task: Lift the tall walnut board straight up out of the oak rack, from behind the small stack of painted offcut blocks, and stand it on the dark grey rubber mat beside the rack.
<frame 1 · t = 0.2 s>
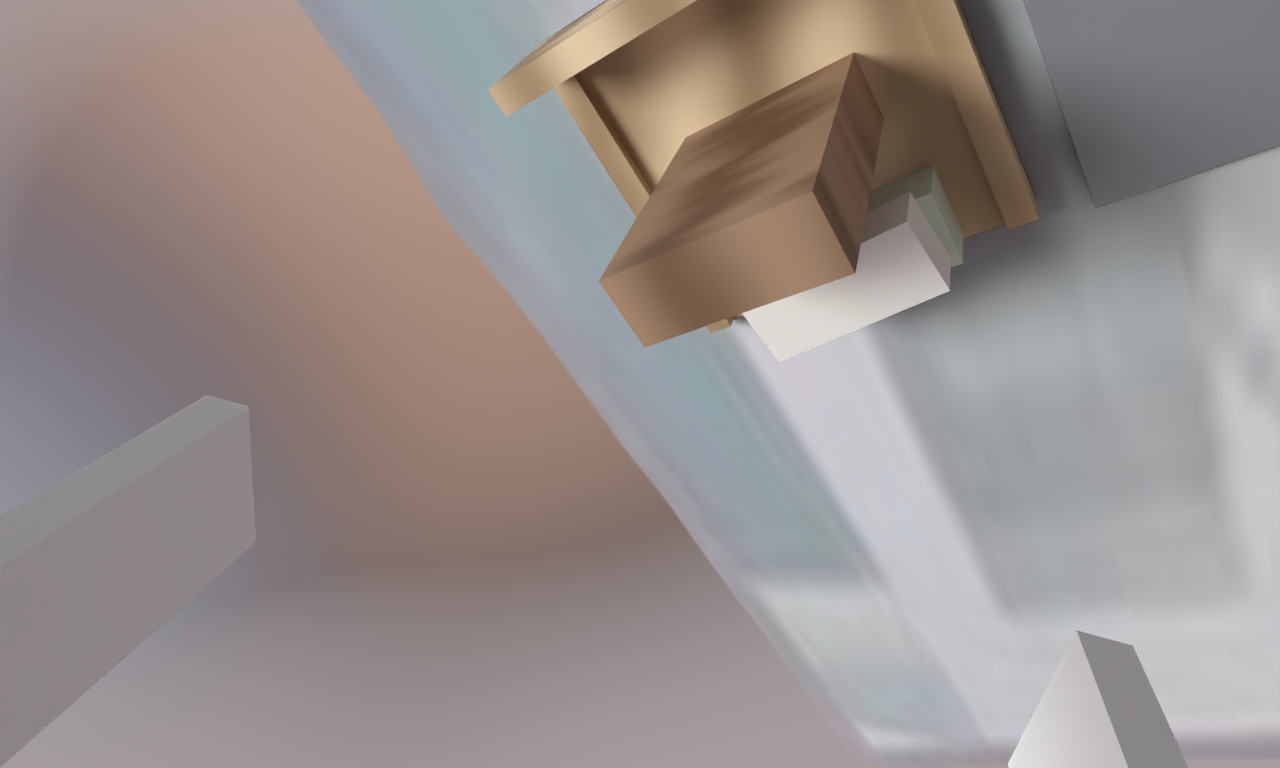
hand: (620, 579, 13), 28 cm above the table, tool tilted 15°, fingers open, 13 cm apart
rubber mat: (1274, 7, 29), on the table
walnut board: (780, 128, 35), point 1 cm above the table, touching rack
offcut upper: (843, 266, 36), point 3 cm above the table, touching offcut lower
rack: (784, 119, 36), on the table
offcut lower: (860, 233, 37), point 1 cm above the table, touching offcut upper, rack
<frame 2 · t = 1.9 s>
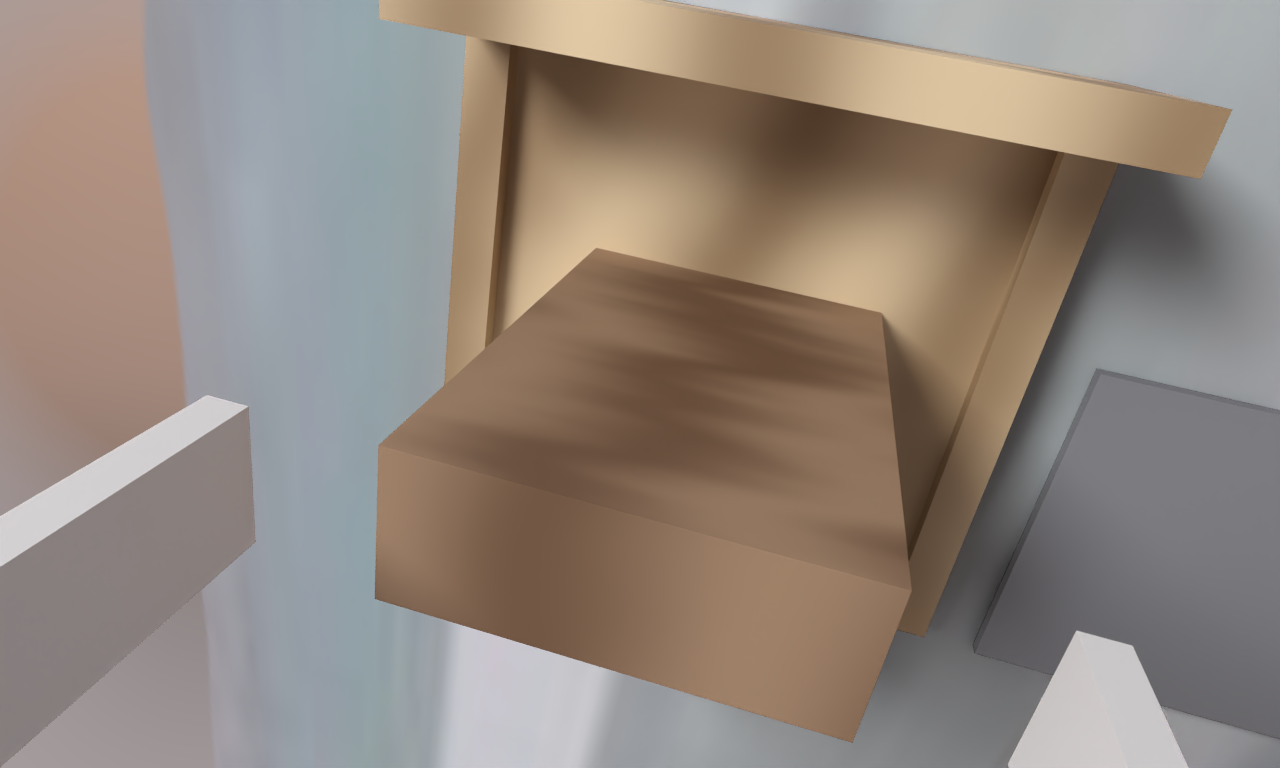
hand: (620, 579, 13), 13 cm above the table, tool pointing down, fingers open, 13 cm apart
walnut board: (724, 329, 23), point 1 cm above the table, touching rack
rack: (728, 318, 24), on the table
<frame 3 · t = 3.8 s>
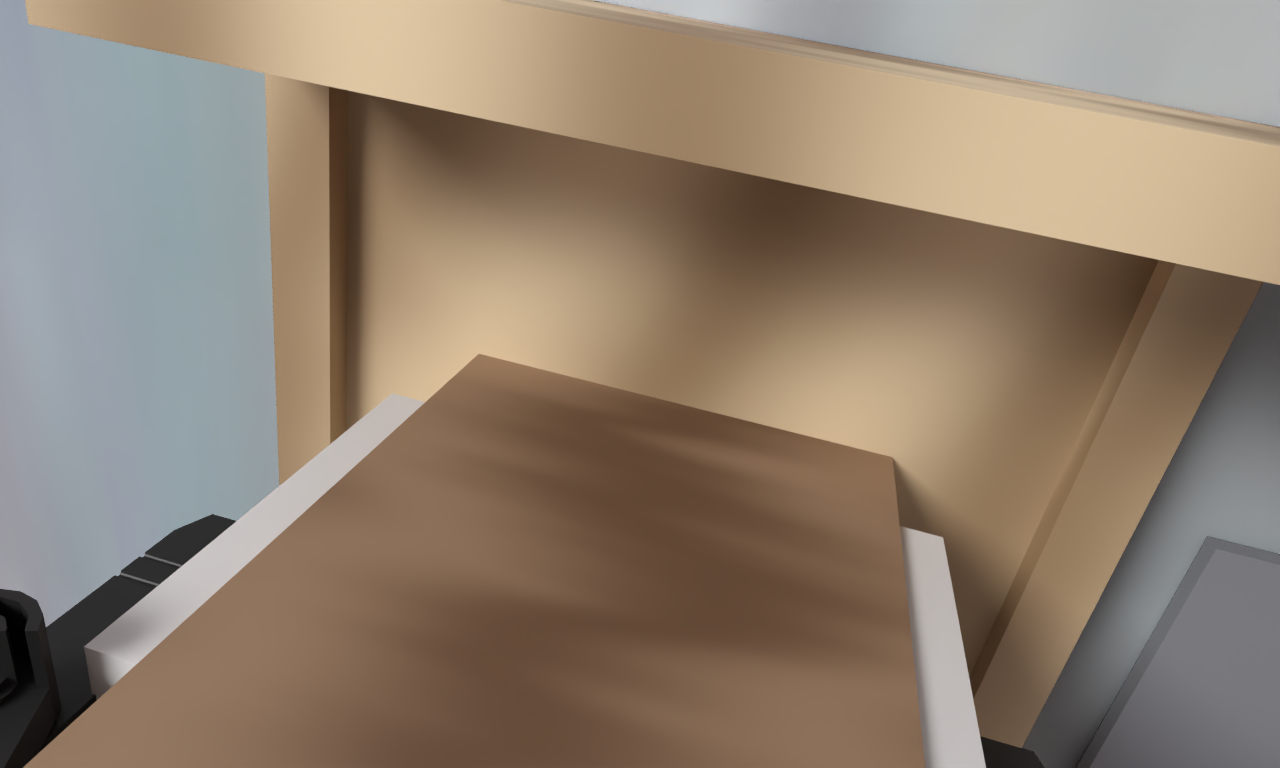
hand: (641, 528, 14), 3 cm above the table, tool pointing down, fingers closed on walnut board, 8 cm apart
walnut board: (664, 470, 16), point 1 cm above the table, touching gripper, rack
rack: (673, 447, 17), on the table
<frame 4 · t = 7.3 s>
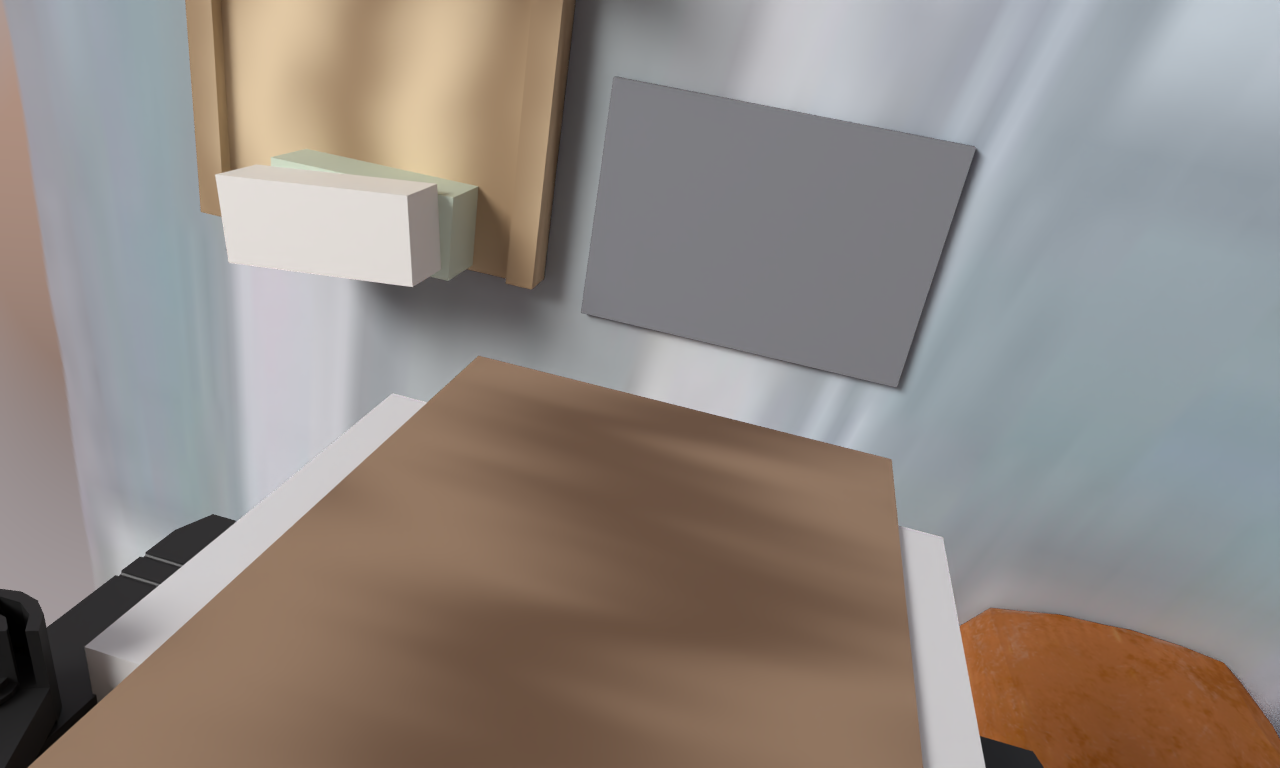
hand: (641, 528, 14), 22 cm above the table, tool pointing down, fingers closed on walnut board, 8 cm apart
rubber mat: (761, 235, 34), on the table
walnut board: (663, 472, 16), point 20 cm above the table, touching gripper
offcut upper: (348, 217, 34), point 3 cm above the table, touching offcut lower
rack: (383, 56, 34), on the table
offcut lower: (390, 207, 36), point 1 cm above the table, touching offcut upper, rack
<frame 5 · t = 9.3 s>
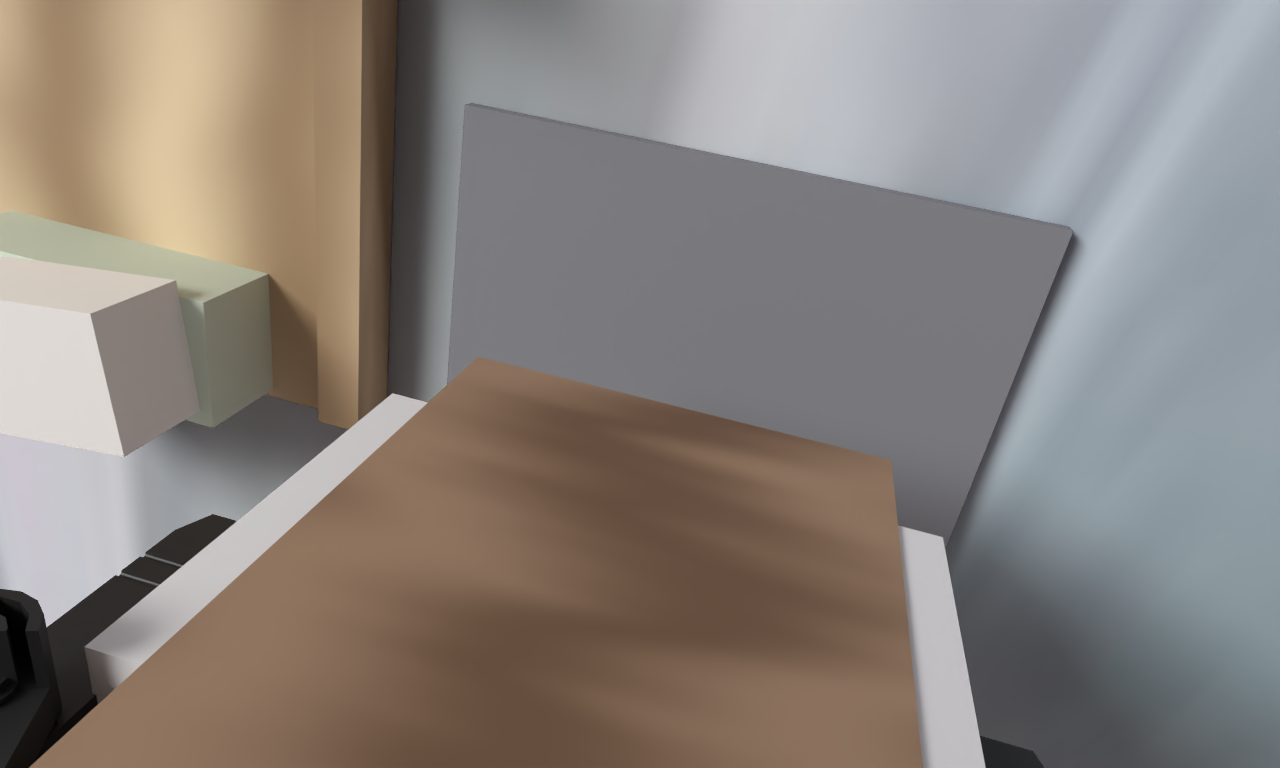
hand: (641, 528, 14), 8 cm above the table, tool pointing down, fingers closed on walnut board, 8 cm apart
rubber mat: (712, 357, 21), on the table
walnut board: (663, 473, 16), point 6 cm above the table, touching gripper
offcut upper: (52, 326, 21), point 3 cm above the table, touching offcut lower
rack: (115, 69, 22), on the table
offcut lower: (144, 300, 23), point 1 cm above the table, touching offcut upper, rack
when the fingers open (3 cm above the table, at t = 10.9 s): walnut board drops 1 cm, resting on rubber mat.
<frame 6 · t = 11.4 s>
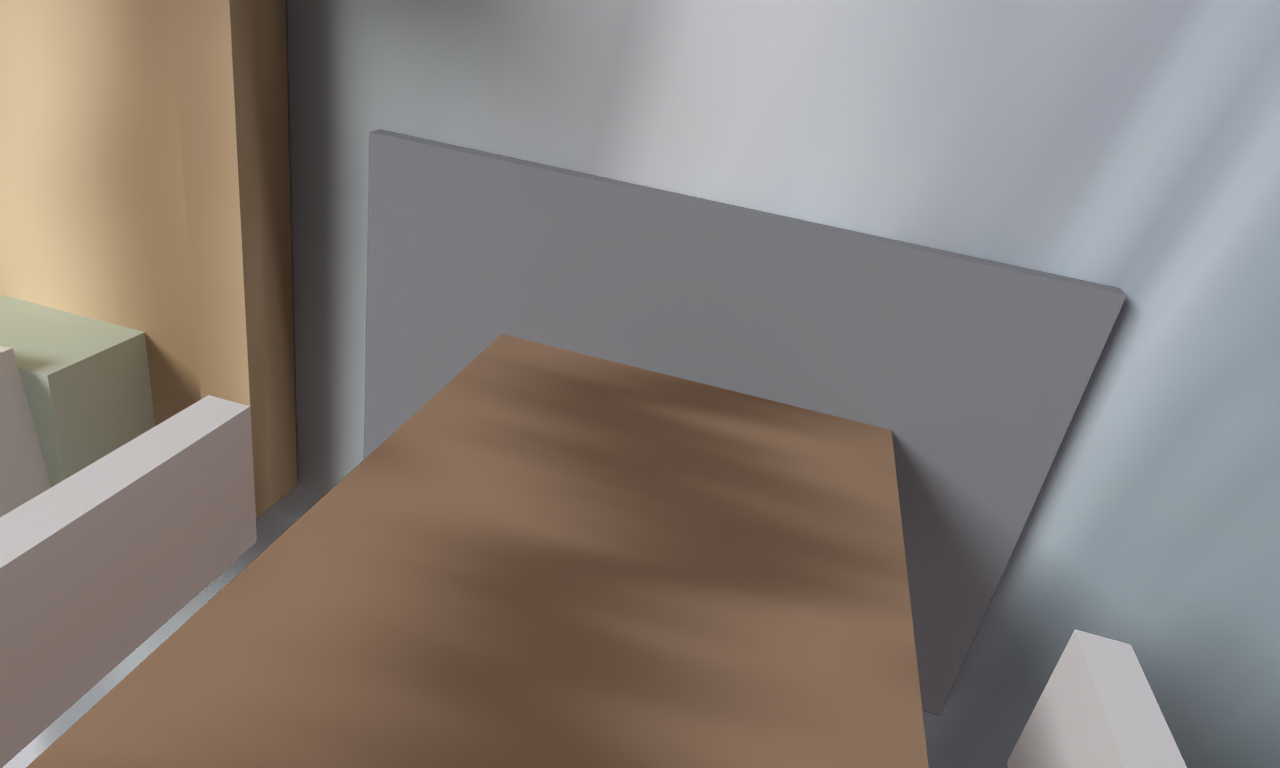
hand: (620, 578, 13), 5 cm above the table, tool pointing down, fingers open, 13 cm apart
rubber mat: (678, 436, 17), on the table
walnut board: (676, 444, 17), resting on rubber mat
offcut lower: (4, 360, 20), point 1 cm above the table, touching offcut upper, rack
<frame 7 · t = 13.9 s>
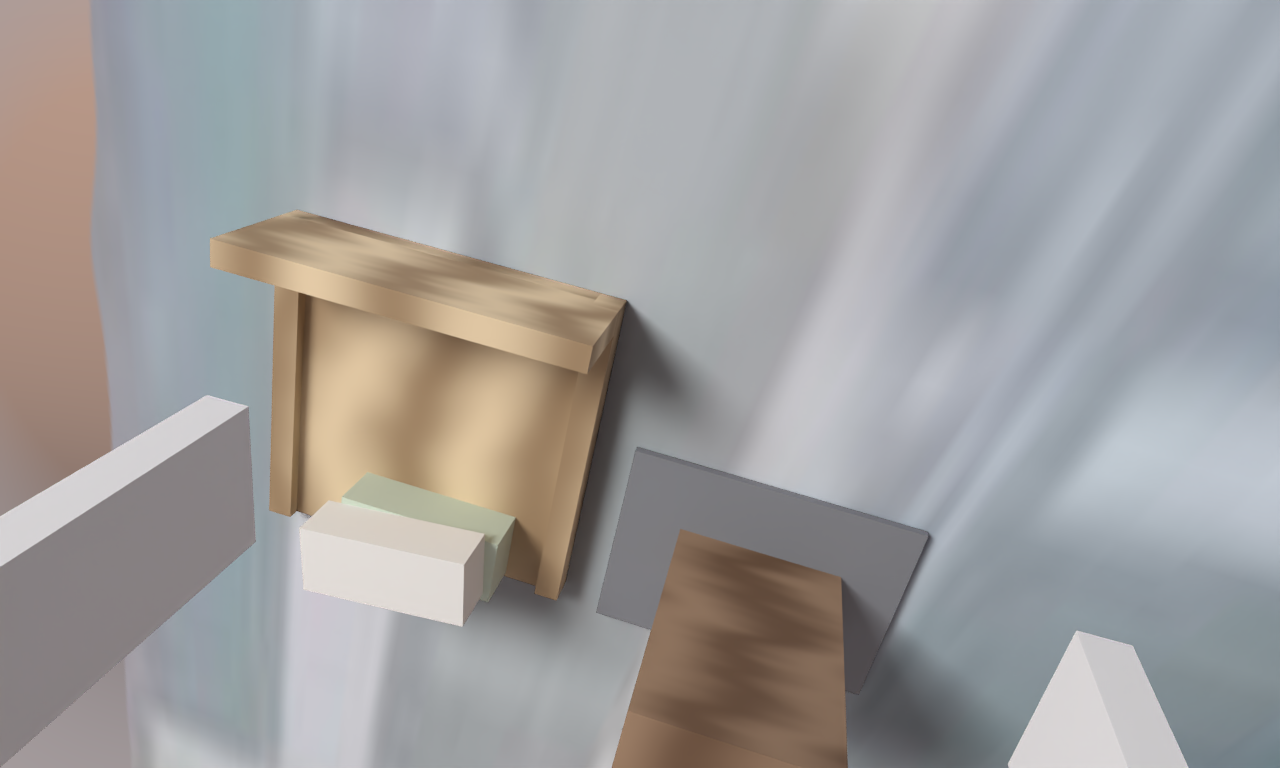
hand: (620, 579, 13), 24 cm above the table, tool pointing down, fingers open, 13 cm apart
rubber mat: (751, 572, 41), on the table
walnut board: (751, 577, 40), resting on rubber mat
offcut upper: (406, 547, 40), point 3 cm above the table, touching offcut lower
rack: (439, 407, 41), on the table
offcut lower: (437, 522, 42), point 1 cm above the table, touching offcut upper, rack
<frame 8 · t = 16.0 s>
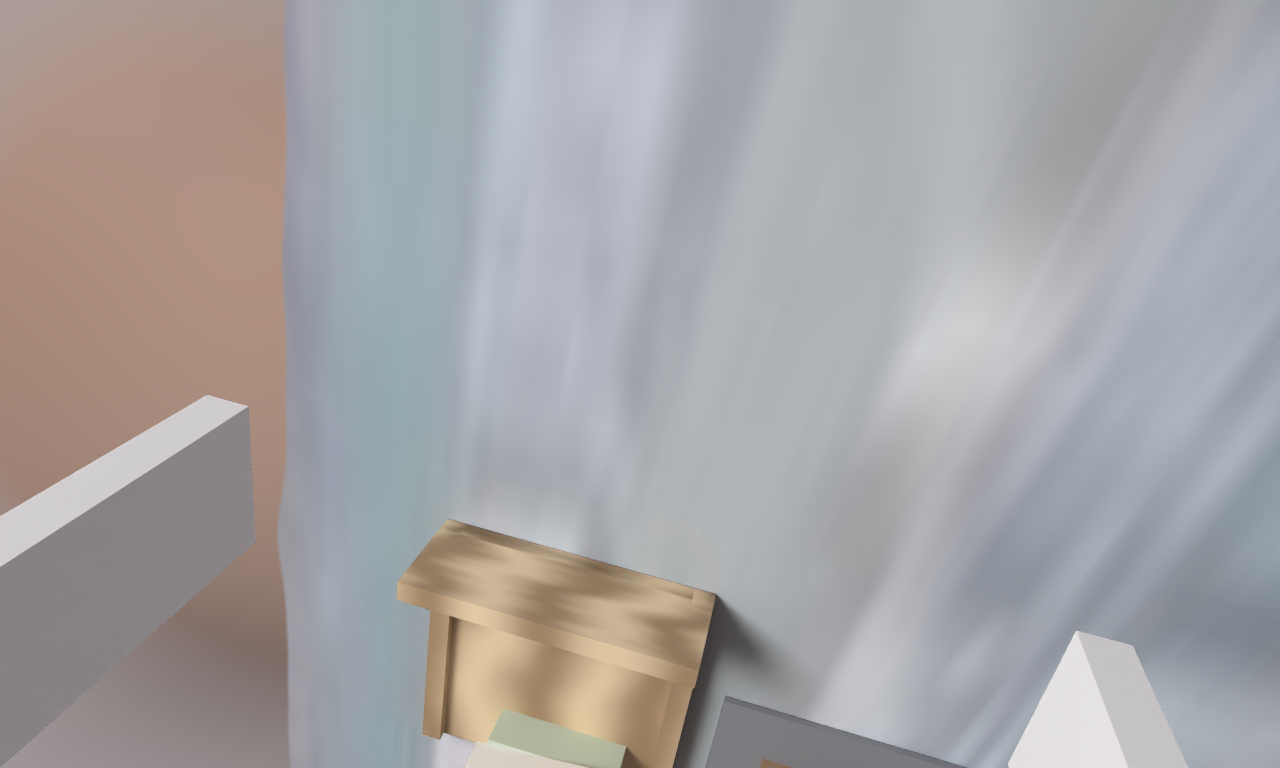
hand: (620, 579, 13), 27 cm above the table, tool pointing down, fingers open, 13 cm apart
rack: (562, 660, 50), on the table
offcut lower: (561, 746, 52), point 1 cm above the table, touching offcut upper, rack
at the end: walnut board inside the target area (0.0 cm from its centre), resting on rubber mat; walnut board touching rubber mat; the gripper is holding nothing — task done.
